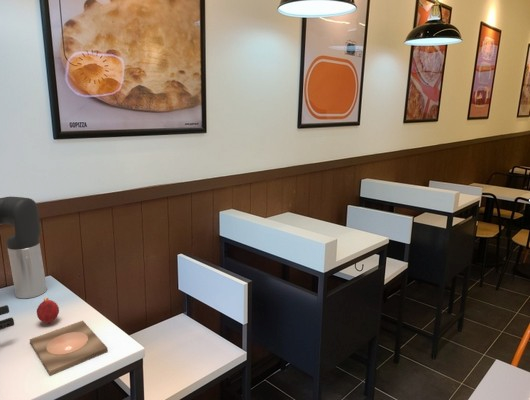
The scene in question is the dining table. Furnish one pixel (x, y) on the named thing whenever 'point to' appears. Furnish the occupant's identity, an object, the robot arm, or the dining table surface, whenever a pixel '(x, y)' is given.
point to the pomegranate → (47, 310)
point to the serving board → (67, 347)
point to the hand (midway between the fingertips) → (11, 314)
